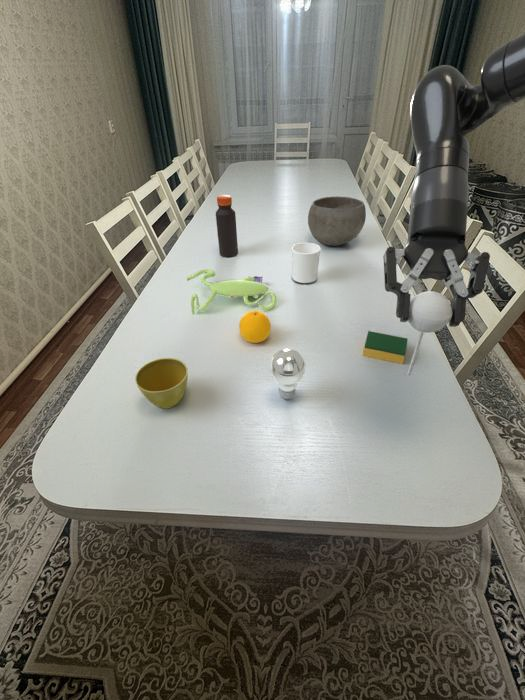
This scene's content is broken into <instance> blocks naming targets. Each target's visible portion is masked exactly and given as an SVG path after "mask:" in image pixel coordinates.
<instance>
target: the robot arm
mask: <svg viewBox="0 0 525 700" xmlns="http://www.w3.org/2000/svg"><path fill="white" fill-rule="evenodd" d="M480 72H481V73H480V83H478V84H476V85H472V84H471V83H470V81H468V80H467V78H466V77H465V76H464V75H463V74H462V72H460V71H459V69H457V68H456V67H454V66H453V65H447V64H442V65H438V66H435V67H433V68H432V69H429V71H427V72H426V73H425V74H424V76H423V77H421V79H420V80H419V82H418V84H417V86H416V88H415V89H414V92H413V95H412V98H411V102H410V109H409V111H410V113H409V117H410V127H411V133H412V138H413V139H412V140H413V144H414V149H415V153H416V161H415V170H414V182H413V187H412V192H411V197H410V198H411V199H410V204H409V218H408V219H409V220H408V229H407V241H406V246H405V247H404V248H395V247H394V246H388V247H387V248H386V250H385V252H384V254H383V256H382V257H383V277H384V278H383V280H384V290H385V291H386V292H387V293H393V294H395V295H396V308H395V310H396V311H395V315H396V318H397V319H399V322H400V323H407V322H408V318H409V308H410V300H411V296H412V295H411V293H410V290H411V289H412V287H413V285H414V284H415V282H416V281H417V280H418V279H419V280H428V279H432V280H435V281H442V282H443V284H444V286H445V288H447V289H448V291H449V293H450V295H451V298H452V300H451V301H450V305H451V308H452V313H453V314H452V318H451V320H450V321H449V322H448V326H449V327H453V328H455V327H458V326H460V324H461V323H462V322H464V321H465V318H466V309H467V308H466V307H467V299H473V298H475V297H476V296H478V295H480V294H482V293H483V291H484V287H485V281H486V277H487V272H488V267H489V263H490V258H491V254H490V253H489V252H487V251H483V252H482V253H475V252H469V250H468V249H467V247H466V238H467V237H466V236H467V223H468V212H469V211H468V209H469V196H470V189H469V188H470V187H469V166H470V143H469V140H468V139H467V135H469V134H470V133H472V132H473V131H474V130H477V129H478V128H479V127H481V126H483V125H485V123H487V122H488V121H490V120H491V119H493V118H494V117H496V116H497V115H498V114H500V113H501V112H503V111H504V110H506V108H508V107H510V106H512V105H514V104H518V103H520V102H522V101H524V100H525V32H523V33H521V34H520V35H518V36H516V37H515V38H513V39H511V40H509V41H507V42H505V43H504V44H502V45H500V46H499V47H497V48H496V49H494V50H493V51H492V52H490V54H489V55H488V56H487V57H486V58H485V60H484V61H483V64H482V67H481V71H480ZM401 258H403V260H404V261H405V262H406V263H407V266H408V267H409V268H410V271H409V273H408V274H407V275H406V277H405V279H404V280H403V282H402V283H401V282H399V281H398V277H397V265H398V264H399V263H400V261H401ZM464 262H466V263H467V268H468V270H469V271H470V274H469V278H468V283H467V286H466V283H465V281H464V275H463V272H462V270H461V269H460V266H461V265H462V264H463V263H464Z"/></svg>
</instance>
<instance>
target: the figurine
mask: <svg viewBox="0 0 525 700" xmlns="http://www.w3.org/2000/svg"><path fill="white" fill-rule="evenodd" d="M201 275H202V276H201ZM199 276H201V278H200V283H201V284H203V285H205V286H207V287H209V290H210V291H211V294H210V295H209V296H208V299H207V300H206V301H205V302H204V304H203V305H202V306H201V305H200V302H199V297H198V294H194V293H193V294H192V295H191V299H190V307H191V313H192V315H194V314H195V312H196V311H195V300H196V309H197V310H198V311H199V312H203V311H205V310H206V309H207V308H208V307H209V306H210V304H211V303H212V302H213V300H214V299H215V297H216V295H217V294H218V295H221V296H226V297H227V296H228V297H230V298H231V299H233V298H235V297H243V303H244V304H245V305H247V306H253V305H255V304H257V303H258V302H259V301H261V300H262V299H263V298H264V296H266V295H270V296H271V300H272V301H271V303H270V304H269V305H268V306H263V305H261V304H258V308H259V309H261V310H262V311H270V310H272V309H273V308H274V307H275V306H276V304H277V296H276V294H275V293H274V292H273V291H269V287H268V285H266V284H263V276H257V275H254V276H248V277H245V278H242V279H231V280H222V281H218V282H215V283H212V282H210V281H208V280H207V279H209V278H214V277H215V276H216V272H215V271H214V270H212V269H200V270H199V271H197V272H195V273H193V274H192V275H191V274H190V276H187V277H186V281H187V282H189V281H191V280H193V279H195V278H197V277H199ZM262 294H263V295H262ZM259 295H262V296H260V297H259ZM250 297H253V299H256V300H254V301H252V302H251V301H250V300H249V299H248V298H250Z"/></svg>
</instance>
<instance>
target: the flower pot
mask: <svg viewBox="0 0 525 700" xmlns="http://www.w3.org/2000/svg"><path fill="white" fill-rule="evenodd" d="M188 369H189V368H188V366H187V365H186V363H185V362H183V361H182V360H180V359H177V358H172V357H163V358H157V359H154V360H151V361H148V362H147V363H145V364H144V365H142V366H141V367H140V368H139V369H138V371H137V372H136V374H135V377H134V380H135V381H134V382H135V385H136V386H137V388H138V390H139V391H140V392H141V394H142V396H144V397H145V398H146V399H147V400H148V401H149V402H150V403H151V404H153V405H154V406H156V407H158V408H160V409H170V408H173V407H175V406H176V405H178V404H179V403H180V402H181V400H182V398H183V396H184V395H185V392H186V389H187V384H188V378H189V374H188V373H189V371H188Z"/></svg>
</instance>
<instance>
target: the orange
mask: <svg viewBox="0 0 525 700" xmlns="http://www.w3.org/2000/svg"><path fill="white" fill-rule="evenodd" d="M238 330H239V334H240V336H241V337H242V338H243V340H245V341H246V342H248V343H253V344H257V343H261V342H264V341H265V340H267V339H268V337H269V336H270V333H271V330H272V324H271V320H270V319H269V317H268V315H266V314H265V312H262V311H260V310H249V311H248V312H246V313H244V314H243V315H242V317H241V318H240V320H239V325H238Z"/></svg>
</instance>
